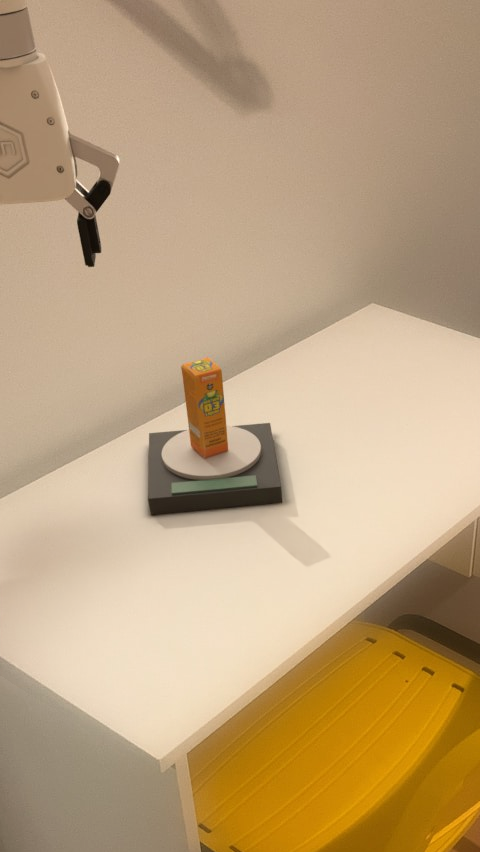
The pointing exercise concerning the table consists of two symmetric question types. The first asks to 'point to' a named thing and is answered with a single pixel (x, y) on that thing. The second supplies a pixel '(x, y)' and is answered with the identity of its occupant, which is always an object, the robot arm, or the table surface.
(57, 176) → the robot arm
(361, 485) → the table surface
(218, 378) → the supplement box
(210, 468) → the scale
